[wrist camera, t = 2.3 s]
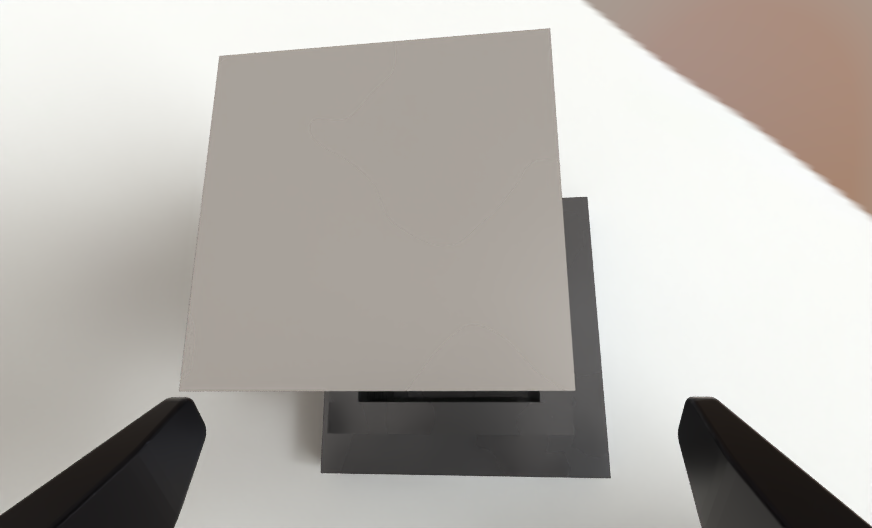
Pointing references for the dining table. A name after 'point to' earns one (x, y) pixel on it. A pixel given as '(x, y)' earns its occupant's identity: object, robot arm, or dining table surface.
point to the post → (383, 221)
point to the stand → (486, 409)
